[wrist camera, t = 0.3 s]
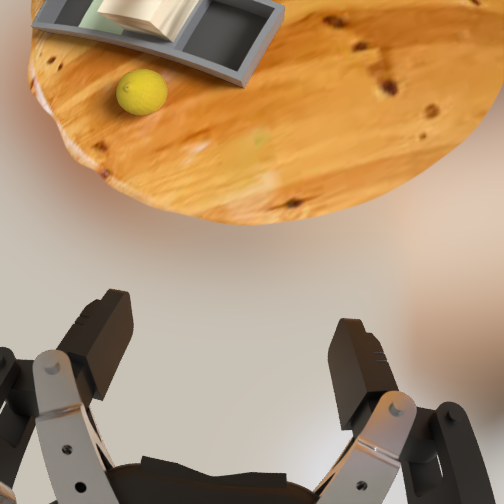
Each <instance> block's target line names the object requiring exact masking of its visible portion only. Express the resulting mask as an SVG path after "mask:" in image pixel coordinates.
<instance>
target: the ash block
mask: <svg viewBox="0 0 504 504" xmlns="http://www.w3.org/2000/svg"><path fill="white" fill-rule="evenodd" d="M198 1H199V0H104V1H103V2H102V4H101V5H100V7H99V9H98V11H97V12H98V13H100V14H101V15H103V16H104V17H106V18H108V19H109V20H111V21H112V22H114V23H116V24H117V25H119V26H120V27H122V28H123V29H125V30H126V31H130V32H135V33H139V34H143V35H147V36H151V37H155V38H158V39H162V40H166V41H169V42H172V43H173V42H174V40H175V38H176V37H177V35H178V33H179V31H180V30H181V28H182V26H183V25H184V23H185V21H186V20H187V18H188V17H189V15H190V13H191V12H192V10H193V9H194V7H195V6H196V4H197V3H198Z"/></svg>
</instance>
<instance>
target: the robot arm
mask: <svg viewBox="0 0 504 504" xmlns="http://www.w3.org/2000/svg"><path fill="white" fill-rule="evenodd" d="M133 326H134V323H133V316H132V309H131V301H130V295H129V293H128V292H126V291H121V290H115V289H109V290H108V291H107V292H106V294H105V295H104V296H103V298H102V299H101V300H98V299H96V300H94V301H93V302H91V303H90V304H88V305H87V306H86V307H85V308H84V310H83V311H82V313H81V314H80V317H78V318H77V319H76V321H75V324H73V325H72V326H71V328H70V329H69V331H68V332H67V334H66V335H65V337H64V338H63V340H62V341H61V343H60V344H59V346H58V347H57V349H56V350H48V351H45V352H43V353H41V354H40V355H38V356H37V357H36V359H35V360H19V359H16V358H15V356H14V354H13V352H12V351H11V350H10V349H9V348H6V347H0V409H1V407H2V405H3V403H4V401H5V402H6V404H5V406H4V408H3V410H2V412H1V414H0V504H17V503H16V497H15V495H14V493H13V491H12V487H13V484H14V481H15V478H16V475H17V472H18V469H19V466H20V463H21V461H22V458H23V455H24V453H25V450H26V447H27V445H28V442H29V440H30V437H31V435H32V433H33V430H34V428H35V425H36V428H37V433H38V437H39V441H40V445H41V450H42V454H43V457H44V461H45V465H46V468H47V471H48V475H49V478H50V481H51V484H52V487H53V490H54V493H55V496H56V499H57V500H55V501H54V502H52V503H50V504H382V502H383V500H384V498H385V497H386V495H387V493H388V491H389V489H390V487H391V485H392V483H393V481H394V479H395V477H396V475H397V473H398V471H399V468H400V465H401V467H402V472H403V477H404V483H405V489H406V495H407V501H408V504H496V503H495V499H494V495H493V491H492V488H491V484H490V480H489V477H488V474H487V470H486V467H485V464H484V461H483V458H482V455H481V452H480V449H479V446H478V443H477V440H476V437H475V435H474V432H473V430H472V427H471V424H470V422H469V419H468V416H467V414H466V412H465V411H464V409H463V408H462V407H461V406H460V405H458V404H456V403H453V402H444V403H442V404H441V405H440V406H439V407H438V408H437V409H436V410H431V409H425V408H420V407H416V404H415V403H414V401H413V400H412V398H411V397H409V396H408V395H407V394H405V393H403V392H400V391H399V389H398V387H397V384H396V381H395V379H394V376H393V374H392V371H391V369H390V366H389V363H388V362H387V359H386V356H385V354H384V351H383V349H382V346H381V344H380V342H379V341H378V340H377V339H376V337H375V336H374V335H373V334H372V333H366V331H365V328H364V326H363V323H362V321H361V320H360V319H346V318H342V319H340V321H339V323H338V325H337V328H336V331H335V334H334V336H333V339H332V341H331V344H330V347H329V351H328V364H329V369H330V373H331V378H332V383H333V388H334V393H335V397H336V403H337V408H338V413H339V419H340V424H341V429H342V430H352V431H353V437H352V438H351V440H350V441H349V443H348V444H347V446H346V447H345V449H344V450H343V452H342V454H341V455H340V456H339V458H338V459H337V461H336V462H335V464H334V465H333V467H332V468H331V470H330V471H329V472H328V474H327V475H326V476H325V477H324V479H323V480H322V481H321V482H320V483H319V485H318V486H317V487H316V488H315V490H314V491H313V492H312V491H310V490H309V489H307V488H305V487H303V486H300V485H298V484H295V483H292V482H288V481H287V480H286V473H257V472H249V473H242V474H234V475H226V476H214V477H213V476H209V475H206V474H203V473H200V472H198V471H195V470H193V469H190V468H187V467H185V466H183V465H180V464H178V463H173V462H169V461H164V460H159V459H155V458H150V457H146V456H142V459H141V463H134V464H125V465H120V466H117V467H115V465H114V463H113V461H112V459H111V457H110V455H109V454H108V452H107V449H106V447H105V445H104V443H103V440H102V438H101V435H100V433H99V430H98V427H97V424H96V422H95V419H94V416H93V413H92V411H91V408H90V406H89V405H90V403H91V401H92V398H94V399H98V400H101V401H103V399H104V397H105V395H106V392H107V390H108V388H109V385H110V383H111V381H112V379H113V376H114V374H115V372H116V370H117V368H118V365H119V363H120V361H121V359H122V357H123V355H124V352H125V350H126V348H127V346H128V344H129V342H130V340H131V337H132V334H133V328H134V327H133ZM437 455H438V457H439V461H440V465H441V468H442V473H443V477H442V475H441V471H440V467H439V463H438V459H437Z"/></svg>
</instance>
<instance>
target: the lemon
mask: <svg viewBox="0 0 504 504" xmlns="http://www.w3.org/2000/svg"><path fill="white" fill-rule="evenodd" d="M167 93H168V89H167V84H166V82H165V80H164V79H163V77H162V76H161V75H159V74H158V73H157V72H155V71H152V70H149V69H137V70H133V71H131V72H129V73H127V74H126V75H125V76H123V78H122V79H121V80H120V82H119V84H118V86H117V89H116V97H117V101H118V103H119V105H120V106H121V107H122V108H123V109H124V110H125V111H127V112H129V113H131V114H134V115H148V114H152V113H153V112H155V111H157V110H158V109H159V108H161V107H162V105H163V104H164V102H165V100H166V98H167Z"/></svg>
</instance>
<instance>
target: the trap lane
mask: <svg viewBox="0 0 504 504" xmlns="http://www.w3.org/2000/svg"><path fill="white" fill-rule="evenodd" d="M103 1H104V0H45V1H44V3H43V5H42V7H41V8H40V10H39V12H38V14H37V16H36V18H35V20H34V22H33V24H32V26H31V27H33V28H36V29H39V30H42V31H45V32H49V33H56V34H63V35H69V36H75V37H80V38H86V39H91V40H96V41H100V42H105V43H109V44H114V45H118V46H122V47H126V48H130V49H133V50H137V51H141V52H144V53H148V54H151V55H155V56H158V57H161V58H164V59H167V60H171V61H174V62H177V63H180V64H183V65H186V66H188V67H191V68H194V69H197V70H200V71H202V72H205V73H208V74H210V75H213V76H215V77H218V78H220V79H223V80H225V81H228V82H230V83H233V84H235V85H238V86H240V87H242V88H245V87H246V85H247V83H248V81H249V80H250V78H251V76H252V74H253V72H254V70H255V69H256V67H257V65H258V63H259V62H260V60H261V58H262V56H263V55H264V53H265V51H266V49H267V48H268V46H269V44H270V42H271V41H272V39H273V37H274V36H275V34H276V32H277V31H278V29H279V27H280V26H281V24H282V23H283V21H284V12H285V6H284V5H281V4H279V3H276V2H273V1H271V0H199V1H198V3H197V4H196V6H195V7H194V9H193V10H192V12H191V13H190V15H189V17H188V18H187V20H186V21H185V23H184V25H183V26H182V28H181V30H180V31H179V33H178V35H177V37H176V38H175V40H174V42H173V43H172V42H169V41H166V40H162V39H158V38H155V37H151V36H147V35H143V34H139V33H135V32H130V31H126V30H125V29H123V28H122V27H120V26H119V25H117V24H116V23H114V22H112V21H111V20H109V19H108V18H106V17H104V16H103V15H101V14H100V13H98V12H97V11H98V9H99V7H100V5H101V4H102V2H103Z"/></svg>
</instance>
